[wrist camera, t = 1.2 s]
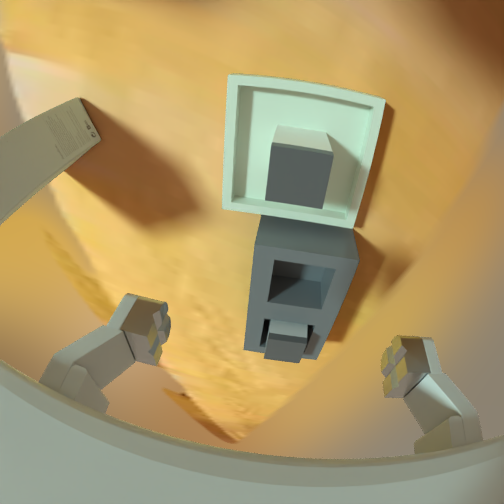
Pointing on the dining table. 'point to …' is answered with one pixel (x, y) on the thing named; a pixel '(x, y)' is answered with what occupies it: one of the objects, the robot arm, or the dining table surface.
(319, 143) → the plug
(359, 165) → the tray
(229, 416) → the dining table surface
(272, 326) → the twin plug
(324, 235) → the grey socket block
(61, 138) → the skincare box
